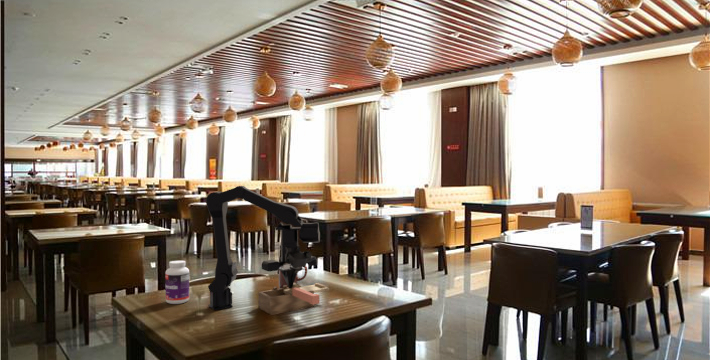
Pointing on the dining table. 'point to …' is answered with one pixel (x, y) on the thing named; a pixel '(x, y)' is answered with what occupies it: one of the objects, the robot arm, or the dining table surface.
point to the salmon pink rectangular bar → (306, 295)
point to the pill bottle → (177, 282)
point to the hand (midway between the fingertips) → (290, 288)
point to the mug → (283, 282)
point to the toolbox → (280, 301)
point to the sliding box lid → (309, 288)
